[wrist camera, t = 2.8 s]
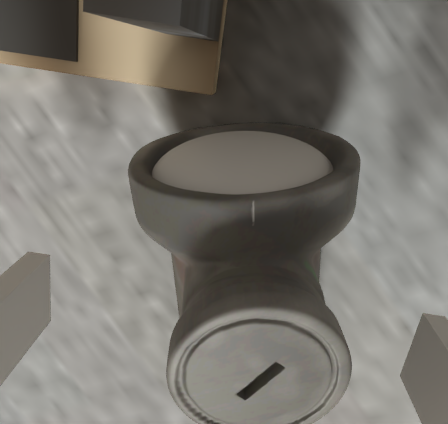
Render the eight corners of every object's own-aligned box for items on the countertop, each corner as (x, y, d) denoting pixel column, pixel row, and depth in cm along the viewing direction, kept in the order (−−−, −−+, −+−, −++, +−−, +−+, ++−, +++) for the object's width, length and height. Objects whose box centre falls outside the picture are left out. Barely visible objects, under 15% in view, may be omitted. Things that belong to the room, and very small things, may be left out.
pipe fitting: (146, 114, 18) (68, 228, 9) (330, 109, 18) (442, 217, 9) (170, 325, 23) (137, 530, 14) (312, 321, 23) (370, 526, 14)
